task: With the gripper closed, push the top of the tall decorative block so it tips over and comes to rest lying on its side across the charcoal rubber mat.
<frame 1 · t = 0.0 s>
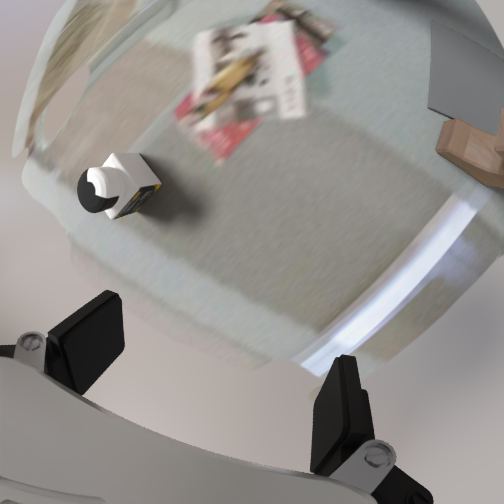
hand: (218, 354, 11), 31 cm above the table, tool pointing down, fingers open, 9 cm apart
decorative block: (464, 153, 32), on the table
medicine bottle: (137, 182, 43), on the table
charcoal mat: (471, 80, 27), on the table
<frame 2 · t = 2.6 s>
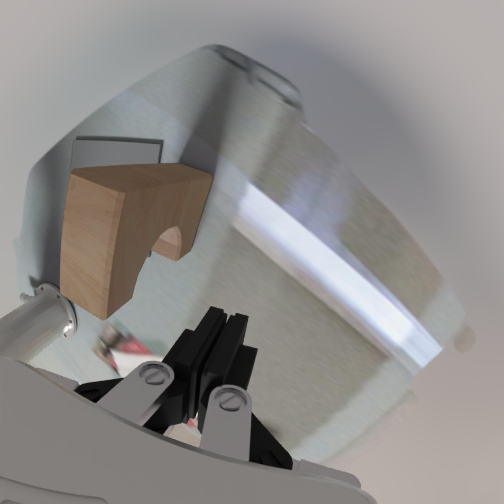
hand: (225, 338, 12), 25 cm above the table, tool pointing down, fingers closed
decorative block: (184, 207, 37), on the table
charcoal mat: (108, 193, 38), on the table
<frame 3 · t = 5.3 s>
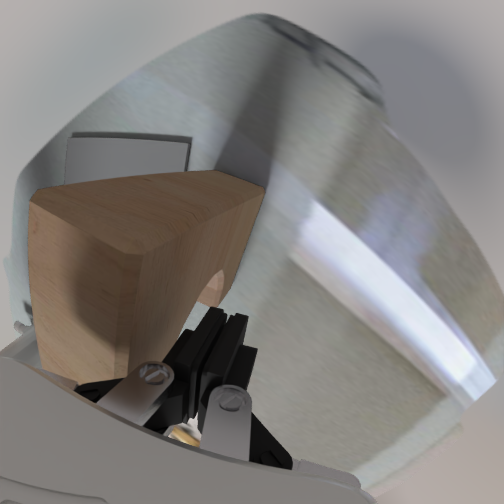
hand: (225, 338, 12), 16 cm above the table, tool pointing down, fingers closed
decorative block: (222, 231, 28), on the table
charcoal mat: (114, 209, 29), on the table
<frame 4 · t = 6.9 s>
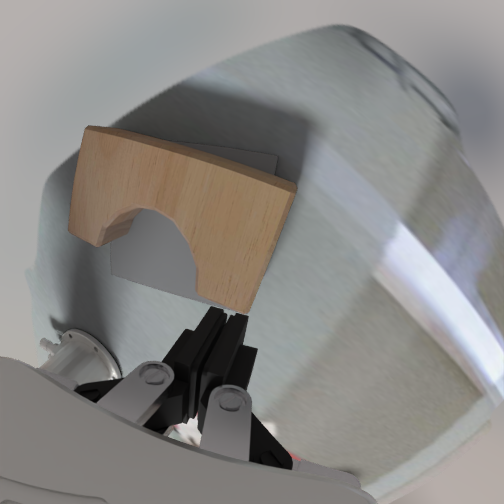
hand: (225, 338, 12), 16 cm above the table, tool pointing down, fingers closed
decorative block: (276, 249, 24), point 3 cm above the table, touching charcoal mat
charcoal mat: (180, 221, 28), on the table
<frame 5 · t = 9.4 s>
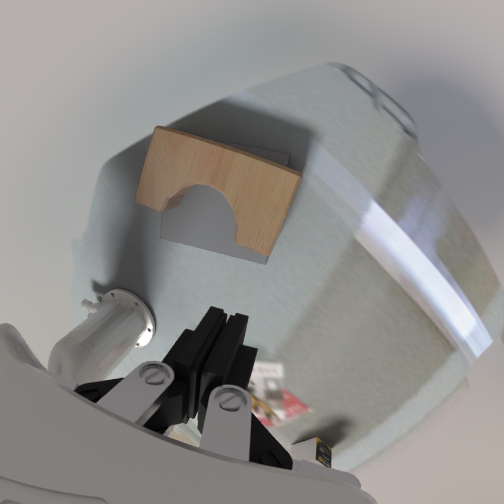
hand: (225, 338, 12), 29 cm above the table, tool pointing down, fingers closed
decorative block: (288, 214, 36), point 3 cm above the table, touching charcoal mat
medicine bottle: (311, 446, 54), on the table
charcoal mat: (219, 197, 40), on the table
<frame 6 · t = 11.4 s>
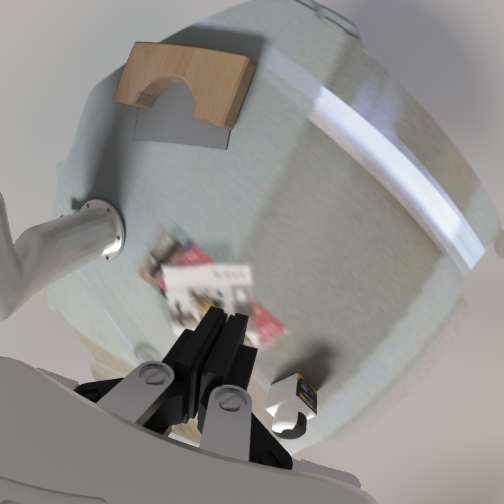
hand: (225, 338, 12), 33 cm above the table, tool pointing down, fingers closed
decorative block: (242, 94, 36), point 3 cm above the table, touching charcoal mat
medicine bottle: (293, 388, 53), on the table
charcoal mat: (185, 97, 40), on the table
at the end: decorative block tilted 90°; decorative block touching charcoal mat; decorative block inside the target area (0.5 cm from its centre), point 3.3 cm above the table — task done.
